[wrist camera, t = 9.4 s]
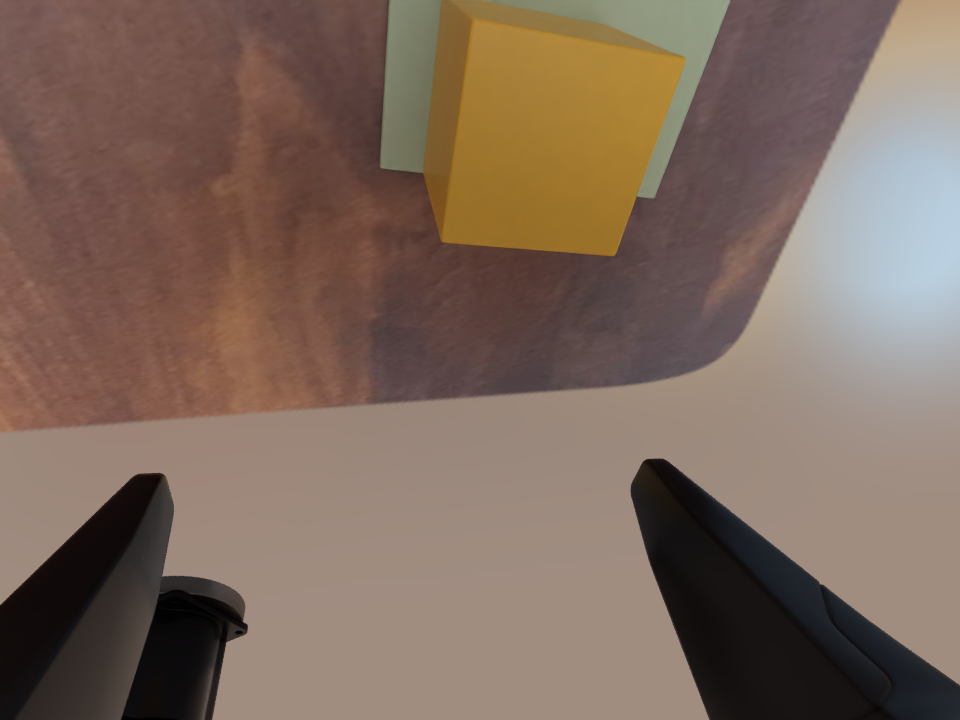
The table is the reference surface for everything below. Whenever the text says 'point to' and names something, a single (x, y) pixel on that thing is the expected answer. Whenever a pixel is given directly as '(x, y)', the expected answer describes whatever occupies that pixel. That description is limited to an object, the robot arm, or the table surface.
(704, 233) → the table surface
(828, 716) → the robot arm
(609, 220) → the yellow block
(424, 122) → the mat
